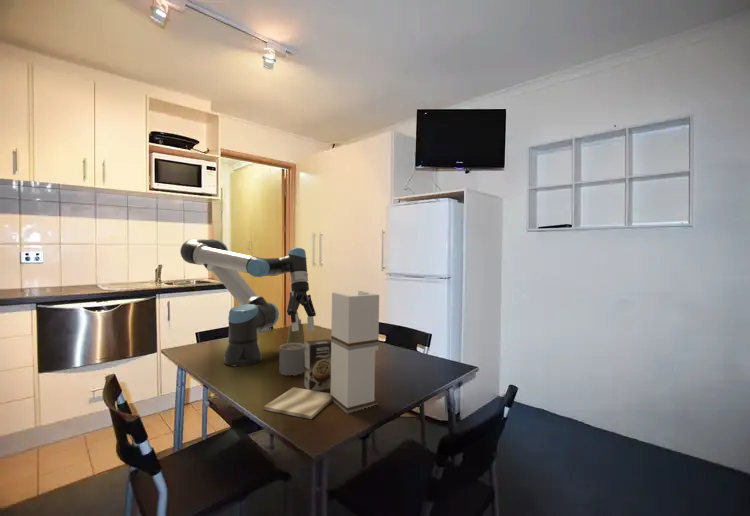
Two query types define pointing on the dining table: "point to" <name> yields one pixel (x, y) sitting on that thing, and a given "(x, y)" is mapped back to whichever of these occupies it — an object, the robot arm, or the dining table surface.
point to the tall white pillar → (354, 350)
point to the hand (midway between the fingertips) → (303, 331)
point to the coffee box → (318, 365)
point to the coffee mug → (292, 359)
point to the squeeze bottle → (296, 333)
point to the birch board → (300, 403)
